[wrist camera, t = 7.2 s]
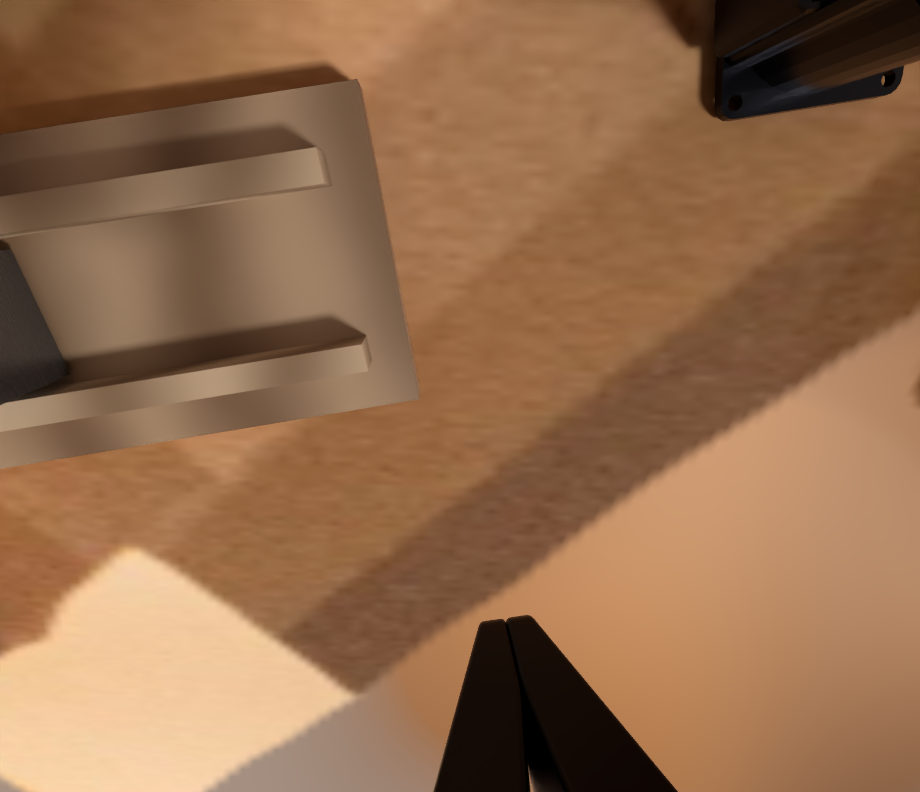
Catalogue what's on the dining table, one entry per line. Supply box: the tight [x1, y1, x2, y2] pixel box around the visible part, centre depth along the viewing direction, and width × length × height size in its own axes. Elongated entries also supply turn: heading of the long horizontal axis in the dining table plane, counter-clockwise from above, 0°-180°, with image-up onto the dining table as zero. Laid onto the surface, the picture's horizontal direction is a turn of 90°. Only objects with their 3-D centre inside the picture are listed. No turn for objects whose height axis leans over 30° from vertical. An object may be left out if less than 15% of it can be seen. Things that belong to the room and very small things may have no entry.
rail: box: [0, 79, 420, 469], centre depth 16 cm, size 25×11×3 cm, turn 98°
